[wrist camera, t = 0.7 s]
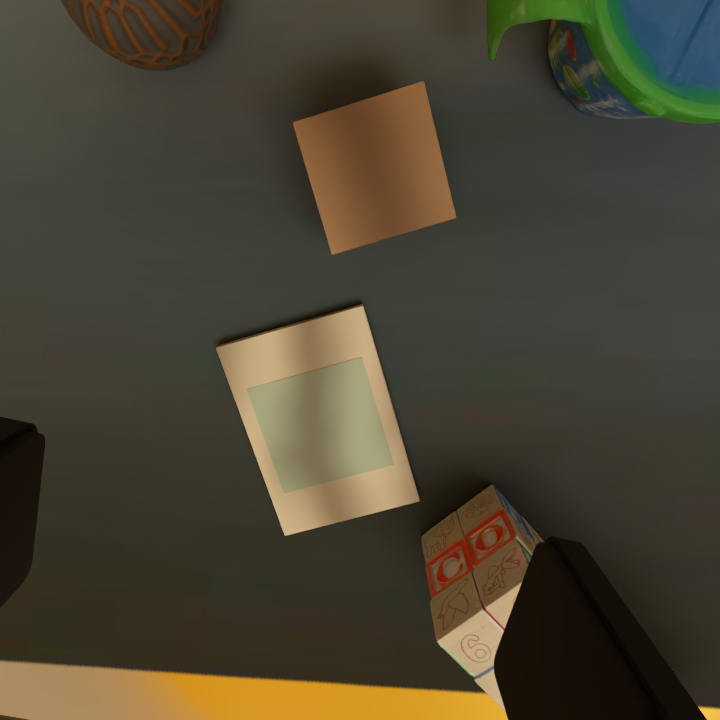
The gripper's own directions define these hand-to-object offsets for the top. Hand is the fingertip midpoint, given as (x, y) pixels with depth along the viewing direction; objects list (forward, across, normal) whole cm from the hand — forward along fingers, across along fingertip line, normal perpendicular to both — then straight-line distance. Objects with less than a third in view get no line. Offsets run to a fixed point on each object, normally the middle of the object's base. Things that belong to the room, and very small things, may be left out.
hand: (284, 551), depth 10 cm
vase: (+23, +12, -14) cm, 30 cm away
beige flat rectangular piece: (+23, -1, +6) cm, 24 cm away
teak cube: (+23, 0, -8) cm, 24 cm away
